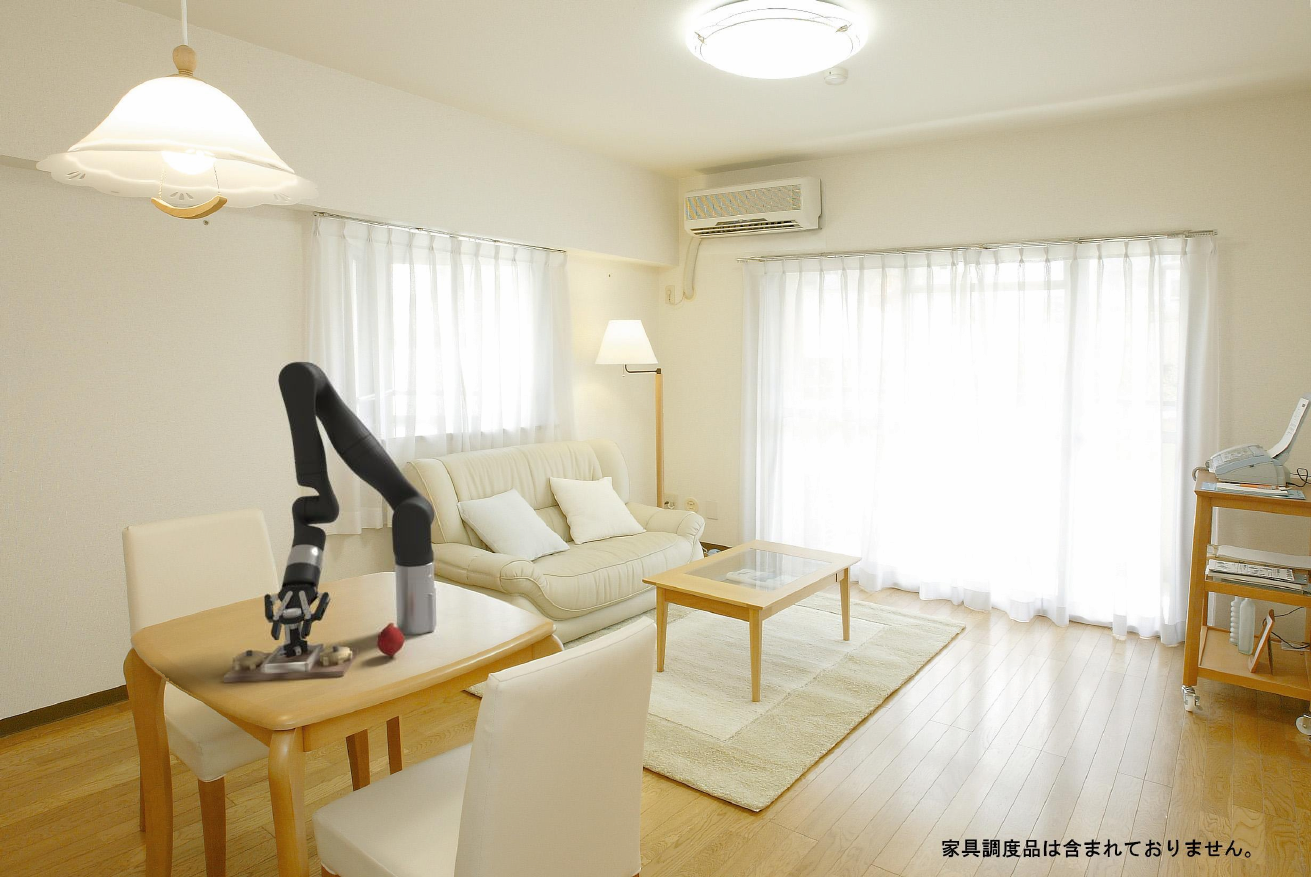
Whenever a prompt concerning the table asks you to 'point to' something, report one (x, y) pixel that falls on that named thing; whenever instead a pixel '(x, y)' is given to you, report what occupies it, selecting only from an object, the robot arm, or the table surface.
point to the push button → (293, 633)
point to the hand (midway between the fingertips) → (289, 637)
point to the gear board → (291, 664)
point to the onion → (390, 640)
